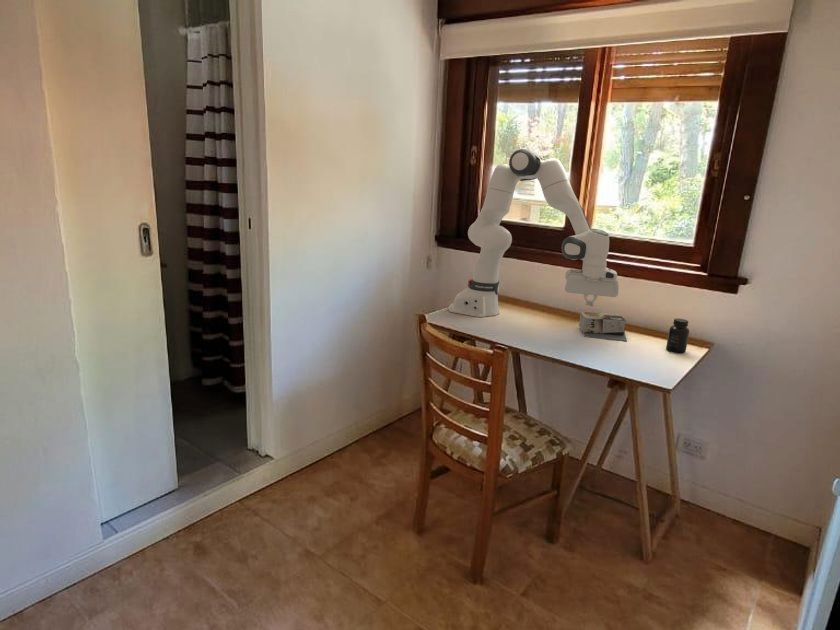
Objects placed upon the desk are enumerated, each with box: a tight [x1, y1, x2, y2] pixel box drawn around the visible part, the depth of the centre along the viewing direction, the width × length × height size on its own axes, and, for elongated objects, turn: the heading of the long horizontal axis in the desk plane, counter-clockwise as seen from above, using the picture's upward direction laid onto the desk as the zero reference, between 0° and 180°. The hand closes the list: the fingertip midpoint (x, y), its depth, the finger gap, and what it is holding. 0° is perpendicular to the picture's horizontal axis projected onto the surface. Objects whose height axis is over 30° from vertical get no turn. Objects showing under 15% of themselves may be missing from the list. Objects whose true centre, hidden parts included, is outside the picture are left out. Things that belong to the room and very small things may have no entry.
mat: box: [583, 331, 628, 343], centre depth 220 cm, size 16×13×1 cm
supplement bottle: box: [665, 318, 690, 355], centre depth 203 cm, size 7×7×12 cm
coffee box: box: [578, 311, 627, 335], centre depth 222 cm, size 9×6×16 cm
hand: (589, 305), depth 219 cm, fingers closed
